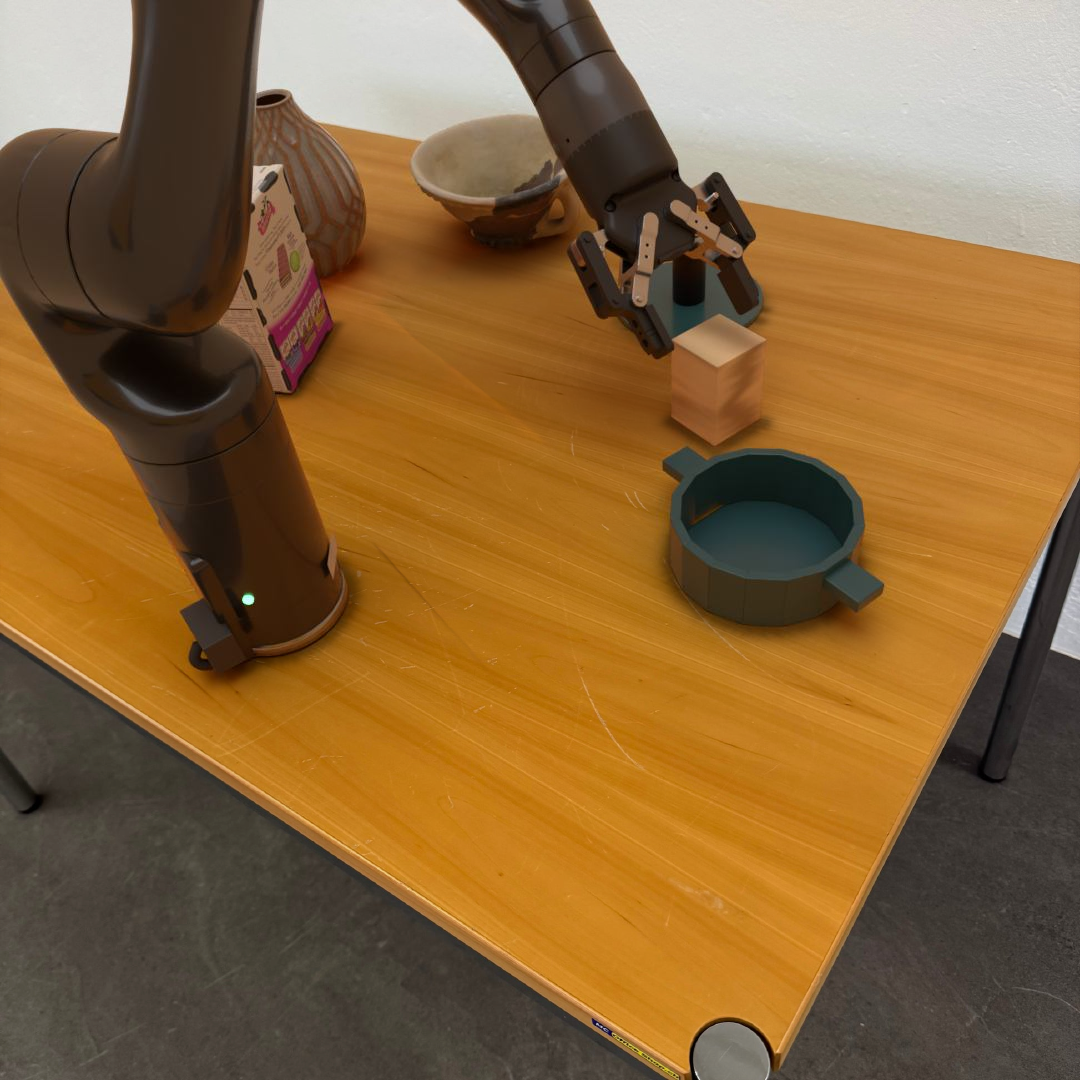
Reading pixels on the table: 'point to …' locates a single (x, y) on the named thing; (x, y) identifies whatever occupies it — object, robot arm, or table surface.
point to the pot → (766, 536)
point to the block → (717, 378)
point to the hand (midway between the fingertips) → (709, 332)
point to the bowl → (497, 179)
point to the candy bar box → (278, 285)
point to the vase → (313, 179)
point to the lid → (691, 296)
